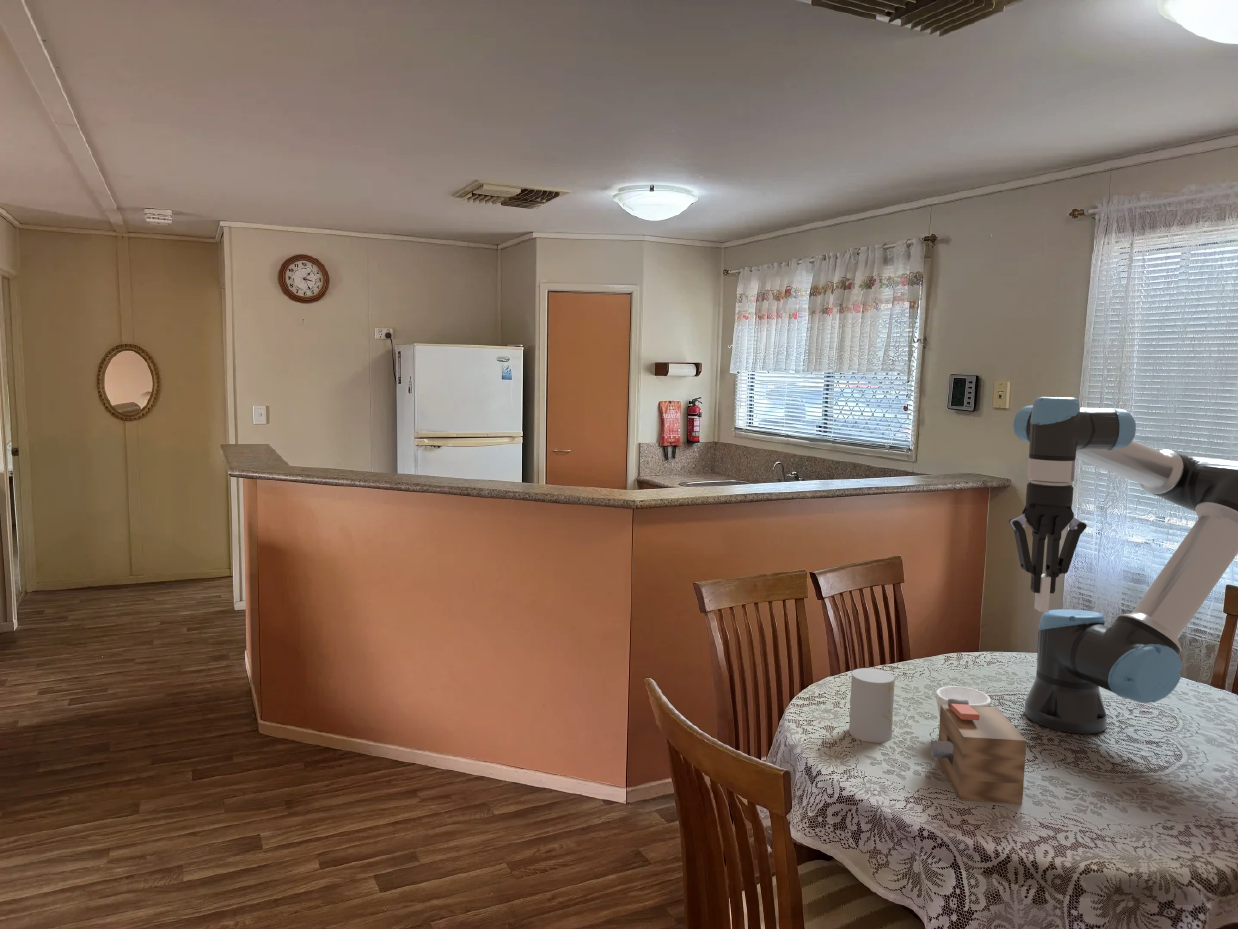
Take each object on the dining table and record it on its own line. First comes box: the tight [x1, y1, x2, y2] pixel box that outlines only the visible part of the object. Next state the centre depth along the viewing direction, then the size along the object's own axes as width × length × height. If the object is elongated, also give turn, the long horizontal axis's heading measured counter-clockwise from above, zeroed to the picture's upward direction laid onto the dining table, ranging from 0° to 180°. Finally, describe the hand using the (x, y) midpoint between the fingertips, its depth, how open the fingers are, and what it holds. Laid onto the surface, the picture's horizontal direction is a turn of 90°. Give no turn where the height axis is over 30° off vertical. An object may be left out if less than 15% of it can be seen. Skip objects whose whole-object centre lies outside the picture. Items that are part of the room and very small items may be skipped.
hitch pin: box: [930, 740, 954, 759], centre depth 146 cm, size 15×5×5 cm, turn 84°
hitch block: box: [936, 704, 1027, 805], centre depth 146 cm, size 10×14×11 cm
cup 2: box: [935, 685, 992, 717], centre depth 162 cm, size 10×10×9 cm
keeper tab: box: [948, 699, 979, 720], centre depth 147 cm, size 3×8×2 cm, turn 174°
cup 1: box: [848, 667, 896, 744], centre depth 165 cm, size 8×8×12 cm
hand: (1041, 610), depth 153 cm, fingers closed
